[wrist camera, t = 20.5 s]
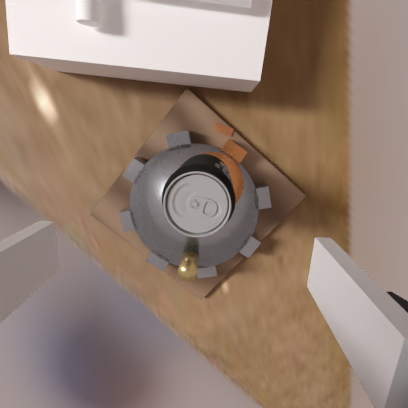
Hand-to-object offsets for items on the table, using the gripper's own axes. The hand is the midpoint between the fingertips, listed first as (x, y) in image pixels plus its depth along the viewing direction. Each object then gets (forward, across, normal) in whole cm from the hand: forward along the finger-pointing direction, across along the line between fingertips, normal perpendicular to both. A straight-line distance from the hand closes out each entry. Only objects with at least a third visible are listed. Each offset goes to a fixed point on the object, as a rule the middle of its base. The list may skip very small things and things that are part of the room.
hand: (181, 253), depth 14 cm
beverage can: (+21, 0, 0) cm, 21 cm away
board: (+25, -1, -4) cm, 25 cm away
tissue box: (+25, -7, +19) cm, 32 cm away
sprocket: (+23, -1, -4) cm, 24 cm away
